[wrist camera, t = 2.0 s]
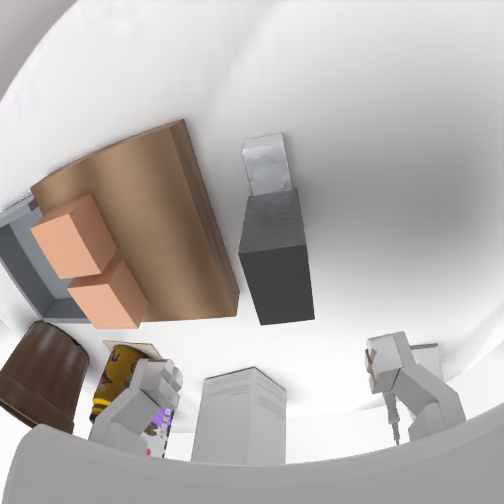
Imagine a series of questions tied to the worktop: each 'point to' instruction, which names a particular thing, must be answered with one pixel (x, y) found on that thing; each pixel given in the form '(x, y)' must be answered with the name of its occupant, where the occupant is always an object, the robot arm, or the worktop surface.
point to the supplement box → (241, 421)
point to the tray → (34, 266)
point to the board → (155, 221)
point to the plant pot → (44, 378)
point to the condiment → (119, 372)
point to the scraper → (274, 236)
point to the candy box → (157, 432)
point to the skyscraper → (431, 362)
